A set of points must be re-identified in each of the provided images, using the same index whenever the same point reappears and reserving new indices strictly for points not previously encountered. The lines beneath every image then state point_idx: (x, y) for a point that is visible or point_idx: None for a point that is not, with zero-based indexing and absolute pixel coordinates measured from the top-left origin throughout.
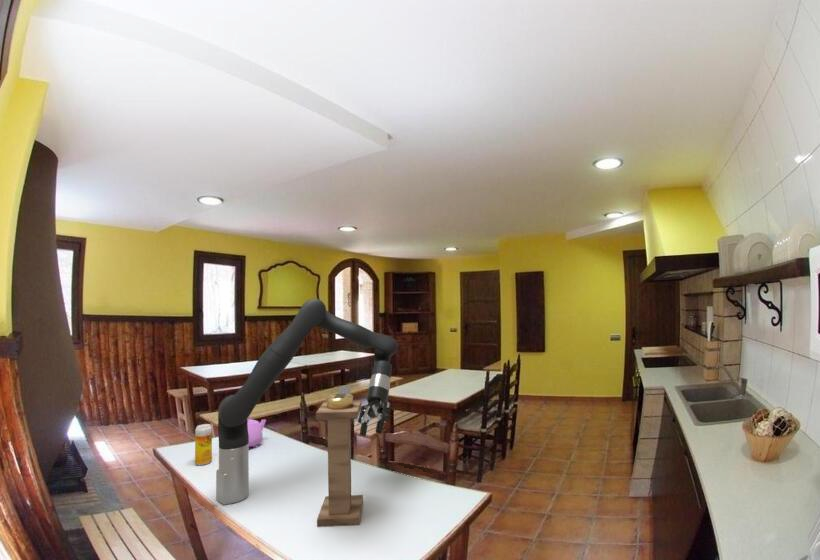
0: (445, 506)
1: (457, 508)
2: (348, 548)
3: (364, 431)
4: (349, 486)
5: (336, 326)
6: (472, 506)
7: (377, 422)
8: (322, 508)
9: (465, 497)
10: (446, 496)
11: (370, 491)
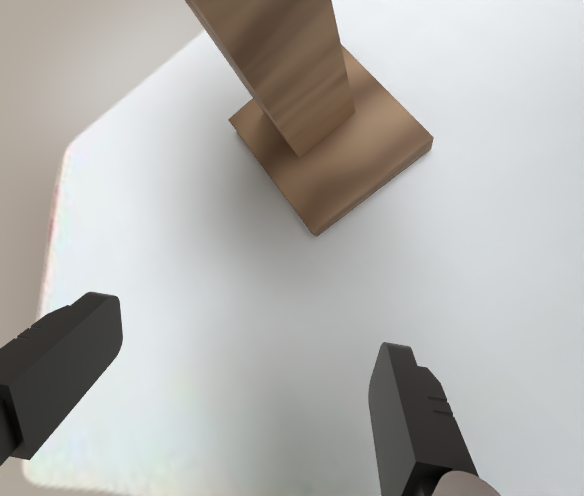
0: None
1: None
2: (200, 52)
3: (380, 410)
4: (234, 69)
5: None
6: None
7: (15, 369)
8: (367, 79)
9: (60, 429)
10: (106, 409)
11: (343, 313)
